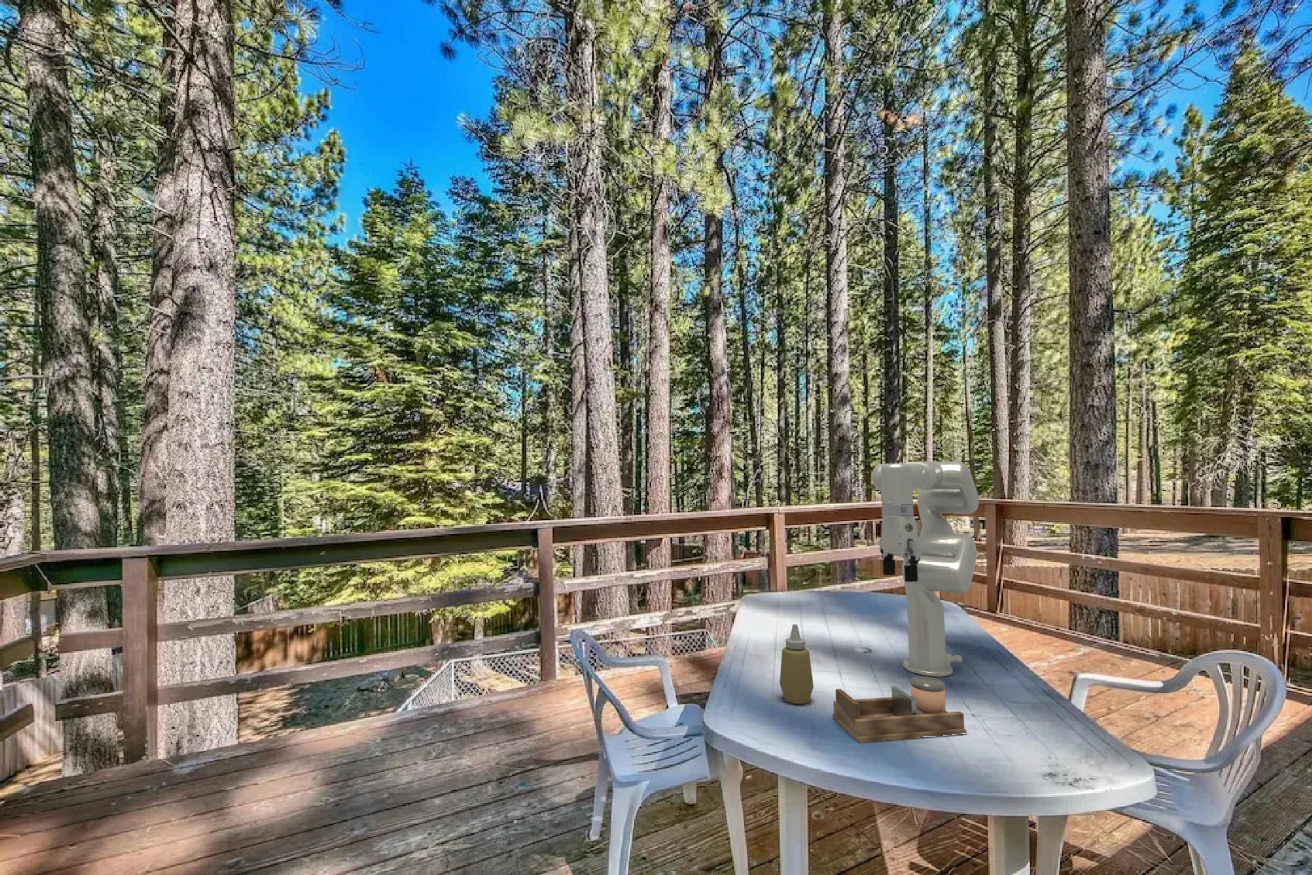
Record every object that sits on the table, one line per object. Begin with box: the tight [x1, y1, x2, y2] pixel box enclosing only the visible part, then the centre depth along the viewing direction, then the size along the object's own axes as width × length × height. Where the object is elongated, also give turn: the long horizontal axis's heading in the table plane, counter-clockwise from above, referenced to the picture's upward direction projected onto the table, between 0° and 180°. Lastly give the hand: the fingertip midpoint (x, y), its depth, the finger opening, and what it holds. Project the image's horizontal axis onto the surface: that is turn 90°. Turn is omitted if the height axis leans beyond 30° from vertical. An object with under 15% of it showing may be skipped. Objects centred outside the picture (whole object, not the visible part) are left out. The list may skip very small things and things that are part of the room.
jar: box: [910, 675, 947, 714], centre depth 123 cm, size 7×7×8 cm
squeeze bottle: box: [779, 623, 814, 705], centre depth 136 cm, size 8×8×18 cm
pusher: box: [891, 685, 925, 716], centre depth 122 cm, size 3×8×6 cm, turn 8°
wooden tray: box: [832, 688, 967, 744], centre depth 121 cm, size 24×12×7 cm, turn 98°
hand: (900, 578), depth 143 cm, fingers open, 9 cm apart
